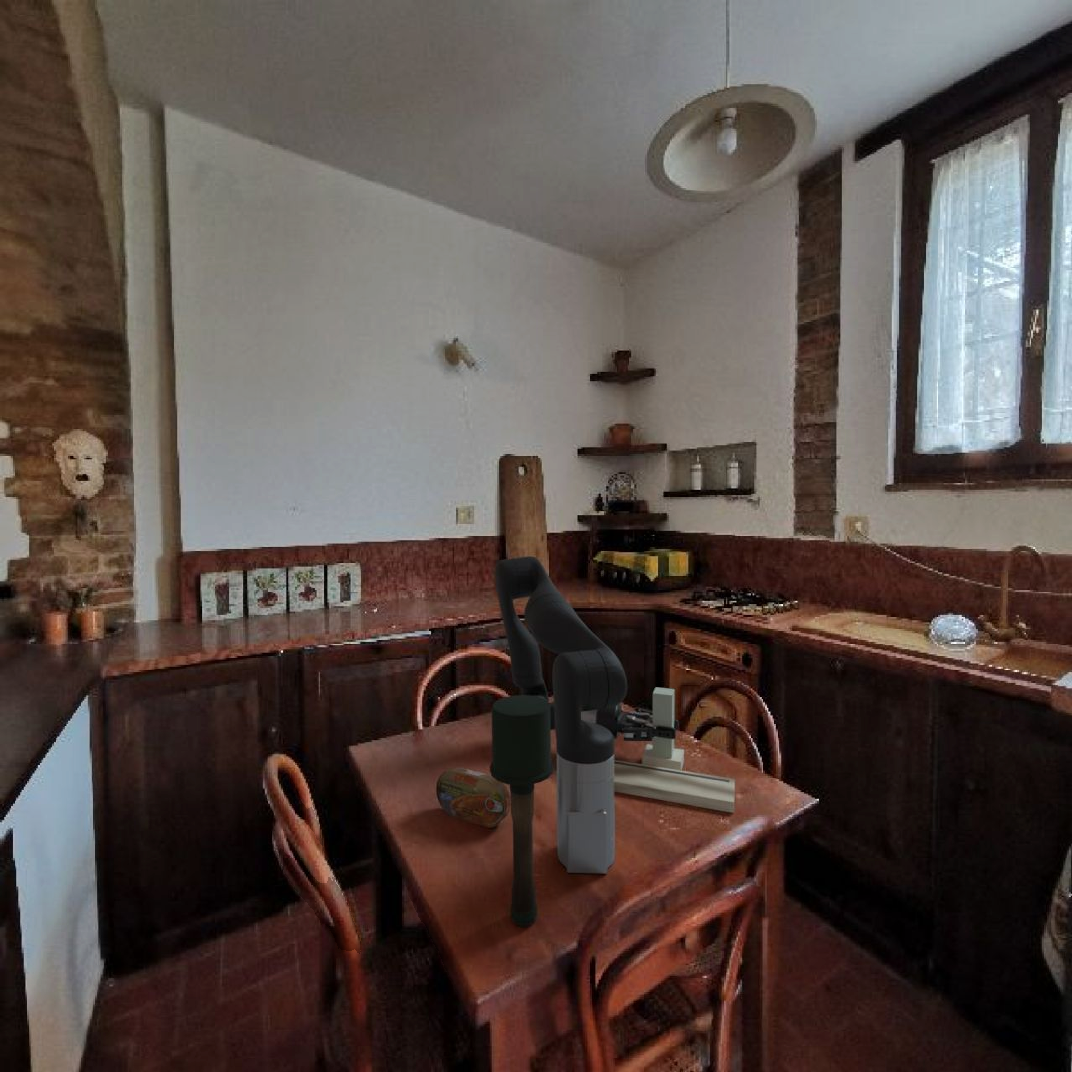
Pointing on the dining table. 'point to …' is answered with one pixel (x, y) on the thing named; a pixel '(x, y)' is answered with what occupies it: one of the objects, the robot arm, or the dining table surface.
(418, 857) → the dining table surface
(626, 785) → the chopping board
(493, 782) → the tin
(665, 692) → the grey pillar on base
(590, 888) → the dining table surface
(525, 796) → the stick grenade
